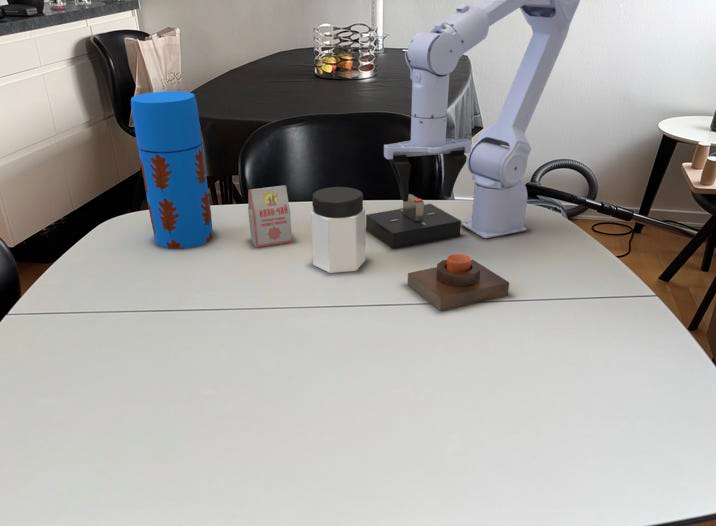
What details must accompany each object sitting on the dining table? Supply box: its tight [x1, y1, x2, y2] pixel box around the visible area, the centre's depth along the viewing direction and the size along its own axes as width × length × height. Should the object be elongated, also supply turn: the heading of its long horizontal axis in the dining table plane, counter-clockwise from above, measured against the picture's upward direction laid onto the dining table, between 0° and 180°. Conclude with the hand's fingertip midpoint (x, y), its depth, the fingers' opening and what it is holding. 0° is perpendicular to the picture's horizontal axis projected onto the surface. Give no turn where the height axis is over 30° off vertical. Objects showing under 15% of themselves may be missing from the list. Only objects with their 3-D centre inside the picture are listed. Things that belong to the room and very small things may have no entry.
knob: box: [402, 193, 425, 222], centre depth 125 cm, size 5×2×4 cm, turn 24°
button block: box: [407, 259, 510, 312], centre depth 105 cm, size 12×10×4 cm
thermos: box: [130, 90, 214, 250], centre depth 121 cm, size 11×11×25 cm
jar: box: [310, 186, 366, 274], centre depth 113 cm, size 9×8×12 cm
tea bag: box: [247, 185, 293, 248], centre depth 123 cm, size 4×7×10 cm, turn 111°
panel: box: [365, 203, 462, 250], centre depth 127 cm, size 14×11×3 cm
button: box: [446, 253, 472, 272], centre depth 104 cm, size 4×4×2 cm
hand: (425, 197), depth 117 cm, fingers open, 7 cm apart
